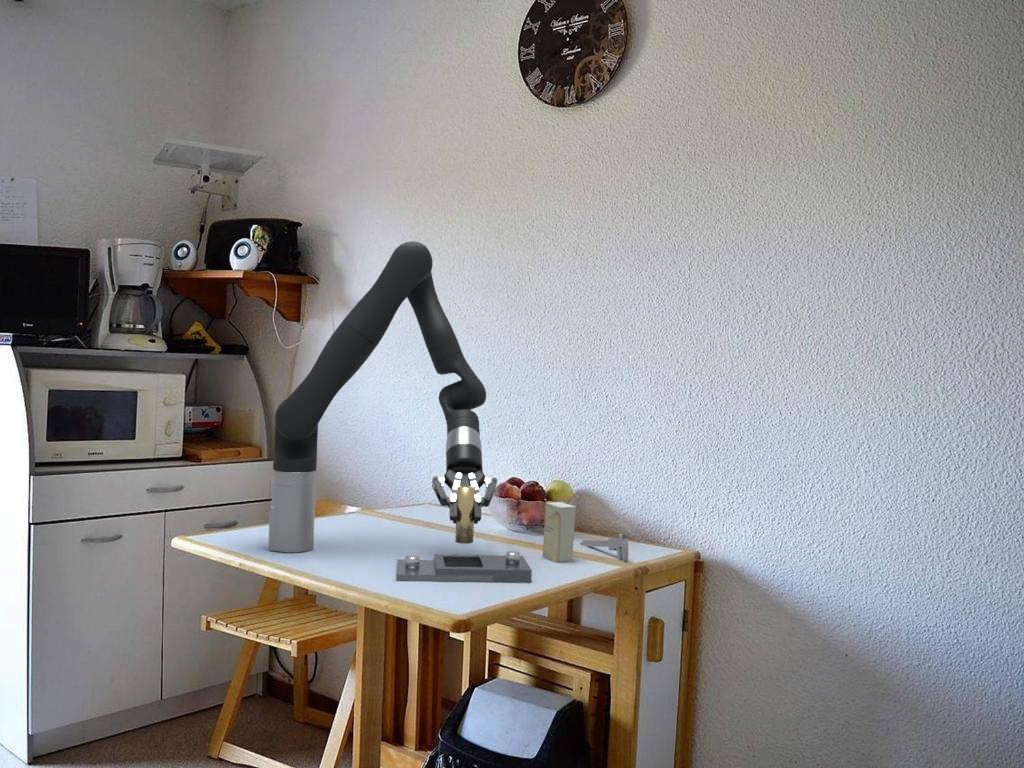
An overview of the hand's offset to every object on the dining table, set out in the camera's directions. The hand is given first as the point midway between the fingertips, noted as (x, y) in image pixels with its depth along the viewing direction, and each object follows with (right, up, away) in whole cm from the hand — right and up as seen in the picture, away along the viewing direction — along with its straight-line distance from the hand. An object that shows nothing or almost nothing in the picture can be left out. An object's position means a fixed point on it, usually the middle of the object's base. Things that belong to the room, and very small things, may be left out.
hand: (465, 520), depth 176 cm
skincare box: (+19, -12, +20) cm, 30 cm away
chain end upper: (+3, -11, +3) cm, 12 cm away
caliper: (+30, -12, +29) cm, 44 cm away
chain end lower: (-5, -11, +2) cm, 12 cm away
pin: (0, -4, +2) cm, 5 cm away
